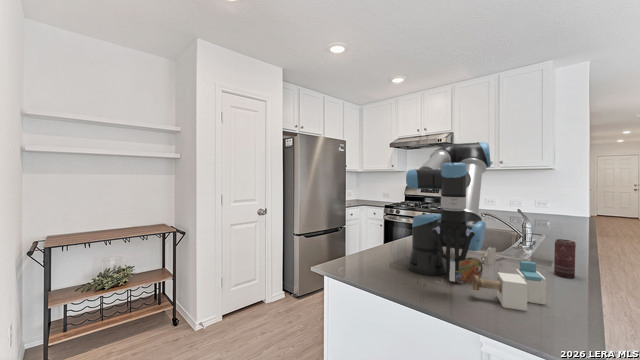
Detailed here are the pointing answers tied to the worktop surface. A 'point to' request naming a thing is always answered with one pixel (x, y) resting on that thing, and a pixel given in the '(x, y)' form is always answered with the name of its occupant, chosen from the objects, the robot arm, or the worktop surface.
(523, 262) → the teal toy chair
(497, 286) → the pin
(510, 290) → the cream block
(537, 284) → the block
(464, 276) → the tin
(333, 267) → the worktop surface
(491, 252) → the architectural model
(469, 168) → the robot arm
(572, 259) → the can
